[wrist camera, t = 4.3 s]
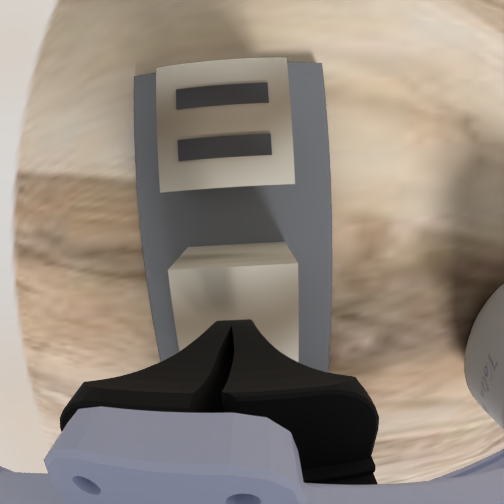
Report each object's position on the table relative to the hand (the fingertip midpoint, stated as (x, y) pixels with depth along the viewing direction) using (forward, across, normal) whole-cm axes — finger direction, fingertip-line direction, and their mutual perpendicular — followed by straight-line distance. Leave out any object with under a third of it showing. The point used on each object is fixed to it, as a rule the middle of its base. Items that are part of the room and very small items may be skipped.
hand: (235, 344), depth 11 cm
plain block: (+6, 0, 0) cm, 6 cm away
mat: (+7, 0, 0) cm, 7 cm away
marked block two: (+6, 0, -8) cm, 10 cm away
